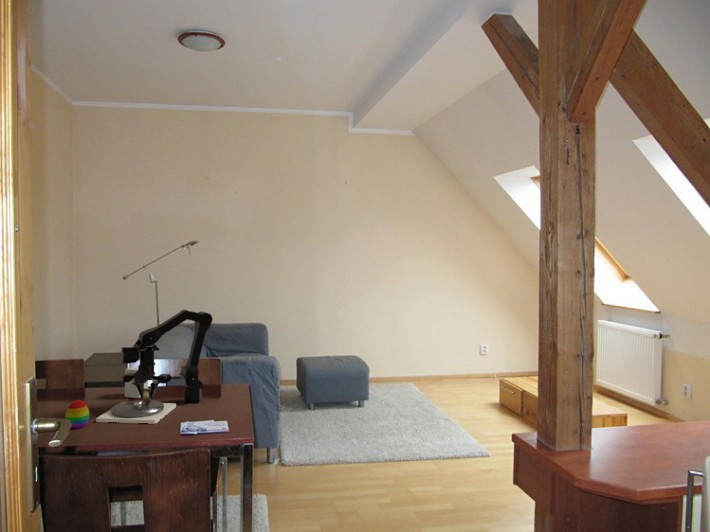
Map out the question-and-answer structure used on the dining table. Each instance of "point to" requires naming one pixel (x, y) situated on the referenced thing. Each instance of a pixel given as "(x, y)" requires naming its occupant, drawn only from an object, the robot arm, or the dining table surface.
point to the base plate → (145, 419)
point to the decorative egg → (77, 414)
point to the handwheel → (138, 406)
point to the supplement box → (132, 385)
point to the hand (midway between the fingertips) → (146, 398)
